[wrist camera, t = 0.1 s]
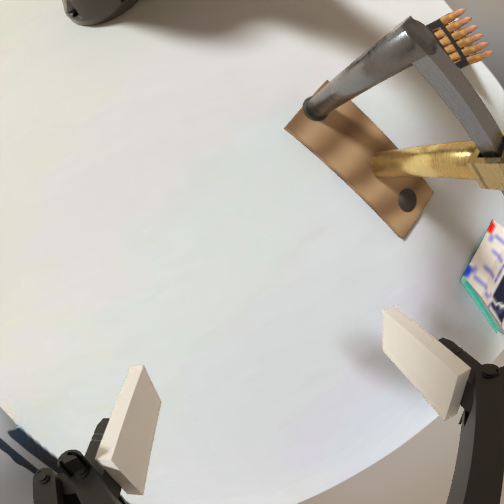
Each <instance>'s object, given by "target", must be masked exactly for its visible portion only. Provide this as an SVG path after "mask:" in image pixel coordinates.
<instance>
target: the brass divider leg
mask: <svg viewBox="0 0 504 504" xmlns="http://www.w3.org/2000/svg"><path fill="white" fill-rule="evenodd" d="M501 132H502V134H503V136H504V131H501ZM370 167H371V170H372V172H373V173H374V174H375V175H377V176H379V177H437V178H461V179H476V180H477V182H478V183H479V185H480V187H481V188H485V189H494V190H503V191H504V150H503V153H502V155H501V158H483V156H482V154H481V153H480V151H479V150H478V148H477V146H476V145H475V143H474V142H473V141H462V142H452V143H443V144H434V145H426V146H418V147H410V148H403V149H396V150H390V151H383V152H377V153H375V154H374V155H373V156H372V157H371V160H370Z"/></svg>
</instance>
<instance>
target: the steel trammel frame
mask: <svg viewBox="0 0 504 504" xmlns="http://www.w3.org/2000/svg"><path fill="white" fill-rule="evenodd" d="M412 65H414V66H415V67H416V68H417V69H418V70H419V71H420V73H421V74H422V75H423V76H424V77H425V78H426V79H427V80H428V82H429V83H430V84H431V85H432V86H433V87H434V89H435V90H436V91H437V92H438V94H439V95H440V96H441V97H442V98H443V100H444V101H445V102H446V104H447V105H448V106H449V107H450V109H451V110H452V111H453V113H454V114H455V116H456V117H457V118H458V120H459V121H460V122H461V124H462V125H463V127H464V128H465V130H466V131H467V133H468V134H469V136H470V137H471V139H472V140H473V142H474V143H475V145H476V146H477V148H478V150H479V151H480V153H481V154H482V156H483V158H501V155H502V153H503V150H504V136H503V134H502V132H501V131H500V129H499V127H498V125H497V124H496V122H495V120H494V119H493V117H492V115H491V114H490V112H489V111H488V109H487V108H486V106H485V104H484V103H483V101H482V100H481V98H480V97H479V95H478V94H477V93H476V91H475V90H474V88H473V87H472V86H471V84H470V83H469V81H468V80H467V79H466V77H465V76H464V75H463V73H462V72H461V71H460V70H459V68H458V67H457V66H456V65H455V63H454V62H453V61H452V60H451V58H450V57H449V56H448V55H447V54H446V53H445V51H444V50H443V49H442V48H441V47H440V46H439V45H438V43H437V42H436V39H435V37H434V35H433V34H432V32H431V31H430V30H429V29H428V28H427V27H426V26H425V25H424V24H422V23H421V22H419V21H417V20H414V19H413V18H412V17H411V16H409V17H408V18H407V19H405V20H404V21H403V22H401V23H400V24H399V25H397V26H396V27H395V28H394V29H393V30H392V31H391V32H390V33H389V34H387V35H386V36H385V37H384V38H382V39H381V40H380V41H378V42H377V43H376V44H375V45H373V46H372V47H371V48H370V49H368V50H367V51H366V52H365V53H364V54H362V55H361V56H360V57H359V58H357V59H356V60H355V61H354V62H353V63H351V64H350V65H349V66H348V67H347V68H345V69H344V70H343V71H342V72H341V73H340V74H338V75H337V76H336V77H335V78H334V79H333V80H331V81H330V82H329V83H328V84H327V85H326V86H325V87H323V88H322V89H321V90H320V91H319V92H318V93H317V94H316V95H315V96H313V97H312V98H311V99H310V100H309V101H308V102H307V104H306V111H307V113H308V114H309V115H310V116H311V117H313V118H316V119H318V118H322V117H323V116H325V115H327V114H328V113H330V112H331V111H333V110H335V109H336V108H338V107H340V106H341V105H343V104H344V103H346V102H348V101H349V100H351V99H353V98H355V97H356V96H358V95H360V94H361V93H363V92H365V91H367V90H368V89H370V88H372V87H373V86H375V85H377V84H379V83H381V82H382V81H384V80H386V79H388V78H390V77H391V76H393V75H395V74H397V73H399V72H401V71H403V70H404V69H406V68H408V67H410V66H412ZM501 191H502V193H503V195H504V191H503V190H501Z"/></svg>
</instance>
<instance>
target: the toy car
mask: <svg viewBox="0 0 504 504" xmlns="http://www.w3.org/2000/svg"><path fill="white" fill-rule="evenodd" d="M460 282H461V283H462V285H463V286H464V287H465V289H466V290H467V291H468V293H469V294H470V296H471V297H472V298H473V300H474V301H475V303H476V304H477V305H478V307H479V308H480V310H481V311H482V313H483V314H484V316H485V317H486V319H487V320H488V321H489V323H490V324H491V326H492V327H493V328H494V330H495V331H496V333H497V331H498V330H499V331H500V332H501V333H503V334H504V227H503V226H502V225H500V224H499V223H497V222H496V221H495V220H493V219H492V222H491V224H490V226H489V228H488V230H487V232H486V234H485V236H484V238H483V240H482V242H481V244H480V246H479V248H478V250H477V251H476V253H475V255H474V257H473V259H472V261H471V262H470V264H469V266H468V268H467V269H466V271H465V273H464V274H463V276H462V278H461V281H460Z"/></svg>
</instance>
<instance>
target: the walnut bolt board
mask: <svg viewBox="0 0 504 504" xmlns="http://www.w3.org/2000/svg"><path fill="white" fill-rule="evenodd" d="M328 83H329V81H328V80H327V81H326V82H324V83H323V85H322V86H321V87H320V88H319V89H318V90H317V91H316V92H315V93H314V95H313V96H315V95H316V94H317V93H318V92H319V91H320V90H321V89H322V88H323V87H325V86H326V85H327V84H328ZM313 96H312V97H313ZM312 97H309V98H307V99H306V100H305V101H304V103H303V107H302V108H301V109H300V110H299V112H298V113H297V114H296V115H295V116H294V117H293V118H292V120H291V121H290V122H289V123H288V124H287V125H286V127H285V128H284V129H285V130H286V131H288V132H289V133H290V134H291V135H292V136H294V137H295V138H296V139H297V140H298V141H300V142H301V143H302V144H303V145H304V146H306V147H307V148H308V149H309V150H310V151H311V152H313V153H314V154H315V155H316V156H317V157H318V158H319V159H320V160H322V161H323V162H324V163H325V164H326V165H327V166H328V167H329V168H330V169H332V170H333V171H334V172H335V173H336V174H337V175H338V176H339V177H340V178H341V179H342V180H343V181H344V182H345V183H347V184H348V185H349V186H350V187H351V188H352V189H353V190H354V191H355V192H356V193H357V194H358V195H359V196H360V197H361V198H362V199H363V200H364V201H365V202H366V203H367V204H368V205H369V206H370V207H371V208H372V209H373V210H374V211H375V212H376V213H377V214H378V215H379V216H380V217H381V218H382V219H383V221H384V222H385V223H386V224H387V225H388V226H389V227H390V228H391V229H392V230H393V231H394V232H395V233H396V234H397V236H398V237H401V238H404V237H405V235H406V234H407V232H408V231H409V230H410V228H411V227H412V225H413V224H414V222H415V221H416V219H417V218H418V216H419V215H420V213H421V212H422V210H423V209H424V207H425V205H426V204H427V202H428V201H429V199H430V198H431V196H432V194H433V193H434V192H433V190H432V189H431V188H430V186H429V185H428V184H427V183H426V181H425V180H424V179H423V178H422V177H379V176H377V175H375V174H374V173H373V172H372V170H371V167H370V160H371V157H372V156H373V155H374V154H375V153H377V152H383V151H390V150H396V149H398V148H397V147H396V146H395V145H394V144H393V143H392V141H391V140H390V139H389V138H388V137H387V136H386V135H385V134H384V133H383V132H382V131H381V130H380V129H379V128H378V127H377V126H376V125H375V124H374V123H373V122H372V121H371V120H370V119H369V118H368V117H367V116H366V115H365V114H364V113H363V112H362V111H361V110H360V109H359V108H358V107H357V106H356V105H355V104H354V103H353V102H352V101H351V100H349V101H348V102H346V103H344V104H343V105H341V106H340V107H338V108H336V109H335V110H333V111H331V112H330V113H328V114H327V115H325V116H323V117H322V118H318V119H316V118H313V117H311V116H310V115H309V114H308V113H307V111H306V104H307V102H308V101H309V100H310V99H311V98H312Z"/></svg>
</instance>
